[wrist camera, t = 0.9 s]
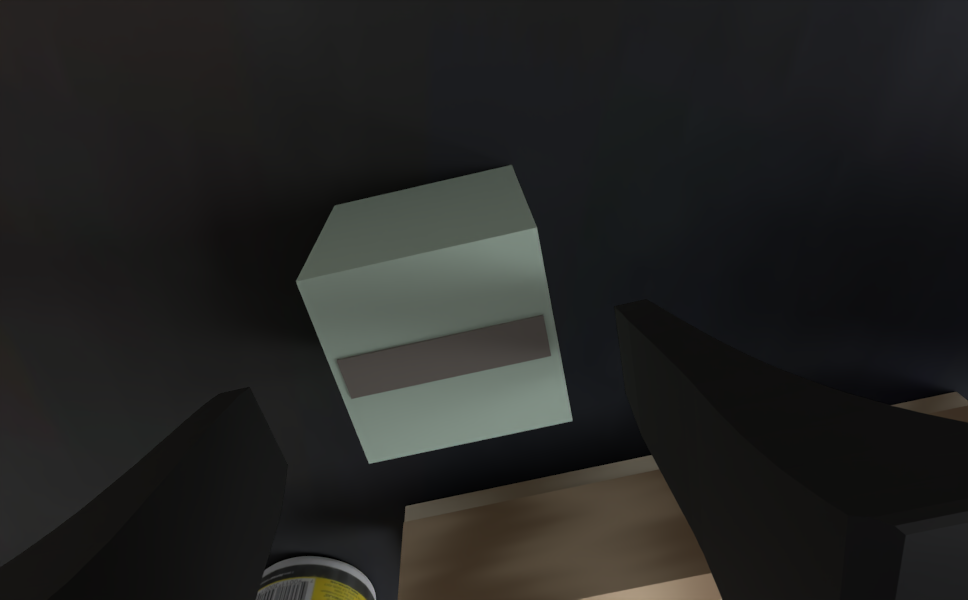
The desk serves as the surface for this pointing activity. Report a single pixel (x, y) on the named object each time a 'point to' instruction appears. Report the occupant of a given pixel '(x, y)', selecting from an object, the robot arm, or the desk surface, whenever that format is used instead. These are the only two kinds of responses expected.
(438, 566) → the tray
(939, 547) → the robot arm
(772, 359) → the desk surface
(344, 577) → the supplement bottle
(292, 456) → the desk surface
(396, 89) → the desk surface
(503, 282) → the sage cube
